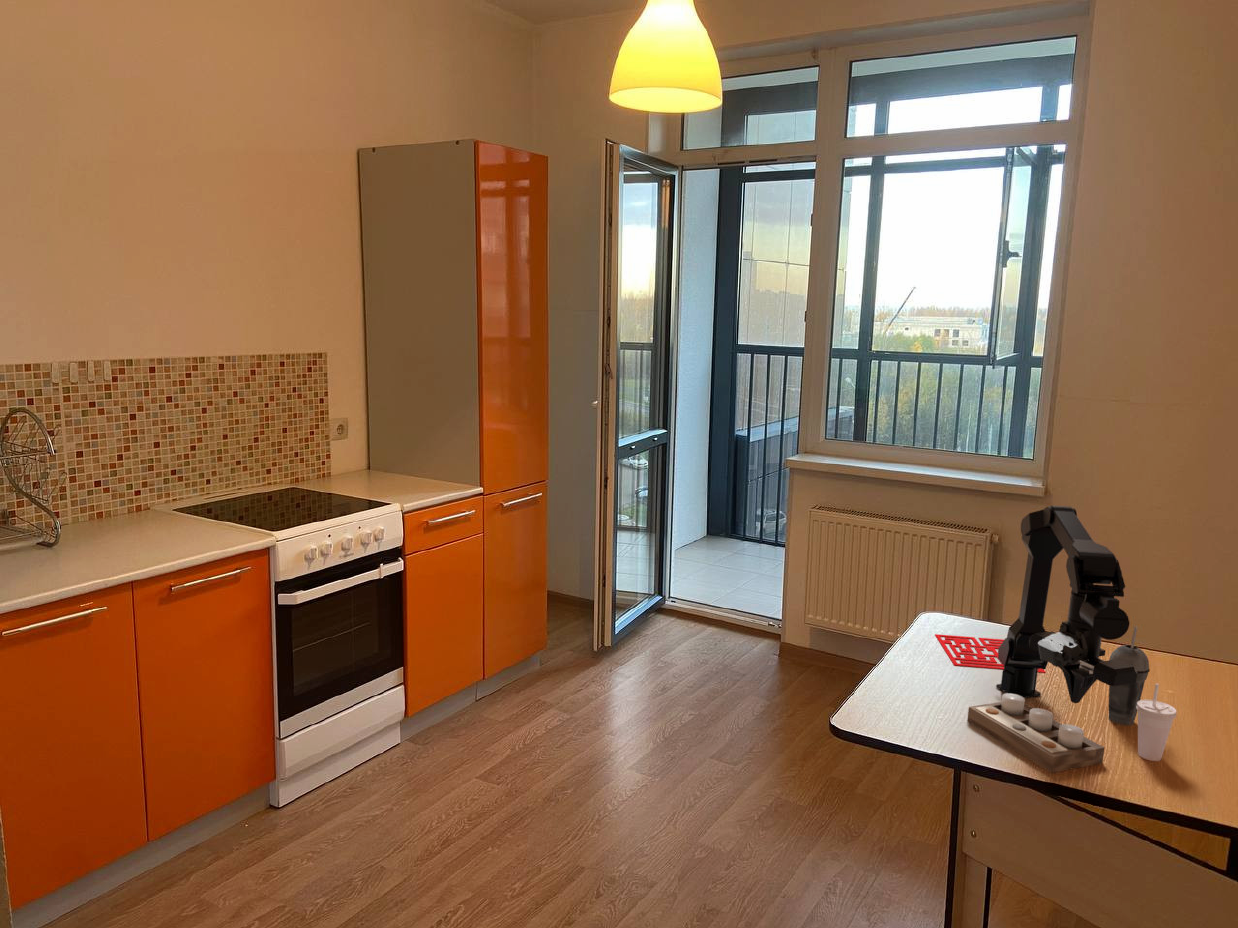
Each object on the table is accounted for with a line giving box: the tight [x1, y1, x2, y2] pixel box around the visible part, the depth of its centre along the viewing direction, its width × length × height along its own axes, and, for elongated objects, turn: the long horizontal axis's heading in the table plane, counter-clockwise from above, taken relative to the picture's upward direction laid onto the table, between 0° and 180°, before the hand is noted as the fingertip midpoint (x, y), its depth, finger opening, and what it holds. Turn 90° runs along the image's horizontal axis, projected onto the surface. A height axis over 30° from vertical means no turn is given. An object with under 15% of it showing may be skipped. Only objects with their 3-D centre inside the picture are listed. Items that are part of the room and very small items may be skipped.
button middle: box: [1028, 707, 1054, 732], centre depth 172 cm, size 4×4×3 cm
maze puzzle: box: [934, 633, 1046, 674], centre depth 216 cm, size 20×20×1 cm
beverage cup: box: [1108, 625, 1151, 726], centre depth 181 cm, size 7×7×20 cm
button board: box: [966, 701, 1105, 774], centre depth 171 cm, size 12×21×3 cm, turn 21°
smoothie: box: [1136, 683, 1178, 762], centre depth 166 cm, size 6×6×14 cm
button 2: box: [1057, 723, 1085, 750], centre depth 165 cm, size 4×4×3 cm
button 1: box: [1001, 692, 1026, 716], centre depth 178 cm, size 4×4×3 cm
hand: (1074, 702), depth 164 cm, fingers closed
